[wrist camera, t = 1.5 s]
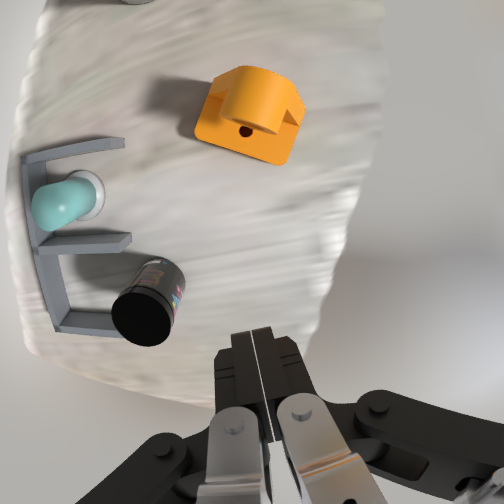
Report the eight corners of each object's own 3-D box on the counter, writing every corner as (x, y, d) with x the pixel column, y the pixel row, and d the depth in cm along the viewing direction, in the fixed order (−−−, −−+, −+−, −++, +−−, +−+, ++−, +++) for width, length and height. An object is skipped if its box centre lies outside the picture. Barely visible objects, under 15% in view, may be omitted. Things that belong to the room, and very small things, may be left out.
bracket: (195, 138, 33) (173, 131, 21) (216, 83, 31) (205, 51, 19) (280, 167, 34) (301, 174, 23) (301, 112, 32) (330, 95, 21)
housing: (124, 138, 32) (91, 136, 24) (145, 321, 40) (127, 360, 32) (39, 154, 31) (-2, 159, 23) (67, 317, 40) (41, 348, 31)
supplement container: (151, 307, 40) (130, 352, 30) (130, 265, 38) (100, 301, 28) (194, 294, 39) (182, 339, 29) (174, 249, 37) (153, 283, 27)
